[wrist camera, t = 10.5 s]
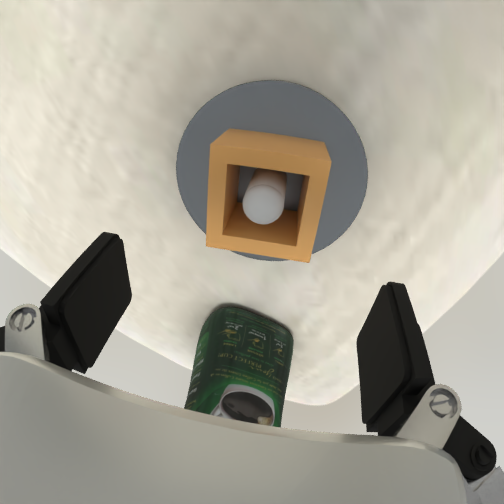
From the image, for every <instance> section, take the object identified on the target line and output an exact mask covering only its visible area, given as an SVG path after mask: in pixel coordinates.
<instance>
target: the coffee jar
mask: <svg viewBox="0 0 504 504" xmlns="http://www.w3.org/2000/svg"><path fill="white" fill-rule="evenodd" d="M292 354H293V338H292V336H291V334H290V333H289V332H288V331H287V330H286V329H284V328H283V327H281V326H279V325H278V324H276V323H274V322H272V321H270V320H268V319H266V318H263V317H261V316H259V315H256V314H254V313H251V312H249V311H246V310H243V309H239V308H235V307H226V308H221V309H218V310H216V311H215V312H213V313H212V314H211V315H210V316H209V318H208V319H207V321H206V322H205V324H204V325H203V327H202V330H201V333H200V337H199V340H198V344H197V349H196V354H195V359H194V365H193V371H192V376H191V382H190V387H189V391H188V396H187V400H186V404H185V407H184V409H187V410H191V411H195V412H200V413H204V414H208V415H213V416H217V417H222V418H227V419H232V420H237V421H243V422H248V423H254V424H260V425H267V426H273V427H280V428H281V419H282V411H283V405H284V399H285V393H286V387H287V382H288V377H289V372H290V366H291V360H292Z"/></svg>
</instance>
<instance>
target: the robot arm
mask: <svg viewBox="0 0 504 504" xmlns="http://www.w3.org/2000/svg"><path fill="white" fill-rule="evenodd" d="M131 298H132V292H131V287H130V281H129V276H128V270H127V264H126V258H125V251H124V244H123V240H122V239H120V237H119V235H117V234H113V233H108V232H103V233H102V234H101V235H100V236H99V237H98V238H97V239H96V240H95V241H94V242H93V243H92V244H91V245H90V246H89V247H88V248H87V249H86V250H85V251H84V252H83V253H82V255H81V256H80V257H79V258H78V259H77V260H76V261H75V262H74V263H73V264H72V266H71V267H70V268H69V269H68V270H67V271H66V272H65V273H64V275H63V276H62V277H61V278H60V279H59V280H58V281H57V283H56V284H55V285H54V286H53V287H52V288H51V290H50V291H49V292H48V293H47V294H46V296H45V297H44V298H43V299H42V301H41V306H40V308H39V309H38V307H37V306H35V305H32V304H23V305H20V306H18V307H16V308H15V309H13V310H12V311H11V312H10V313H9V315H8V317H7V318H6V323H5V326H3V327H0V504H504V472H503V471H502V469H501V468H500V466H499V467H497V468H496V467H495V464H496V451H495V448H494V446H493V444H491V442H490V441H489V440H488V439H487V438H485V437H484V436H483V435H482V434H481V433H480V432H478V431H477V430H476V429H475V428H474V427H473V426H471V425H470V424H469V423H468V422H467V421H466V420H465V419H463V418H462V417H461V416H460V413H461V401H460V399H459V397H458V395H457V393H456V392H455V391H454V390H453V389H452V388H450V387H448V386H446V385H442V384H436V385H435V381H434V377H433V373H432V369H431V365H430V361H429V357H428V354H427V350H426V346H425V343H424V339H423V336H422V332H421V329H420V326H419V324H418V323H417V321H416V317H415V314H414V311H413V308H412V305H411V302H410V299H409V296H408V293H407V290H406V287H405V285H404V284H401V283H395V282H388V283H387V285H383V286H382V287H381V289H380V291H379V293H378V295H377V298H376V300H375V302H374V304H373V306H372V308H371V310H370V313H369V315H368V317H367V319H366V321H365V323H364V325H363V327H362V329H361V331H360V333H359V335H358V338H357V354H358V365H359V378H360V391H361V408H362V422H363V423H364V424H366V427H367V432H378V436H374V435H354V434H339V433H326V432H315V431H305V430H296V429H288V428H280V427H273V426H267V425H260V424H254V423H248V422H243V421H237V420H232V419H227V418H222V417H217V416H213V415H208V414H204V413H200V412H195V411H191V410H187V409H183V408H180V407H176V406H172V405H168V404H165V403H161V402H158V401H154V400H151V399H148V398H144V397H141V396H138V395H135V394H132V393H129V392H126V391H123V390H120V389H117V388H114V387H111V386H108V385H106V384H103V383H100V382H97V381H95V380H92V379H90V378H87V377H84V376H82V375H79V374H77V373H74V372H72V369H74V370H76V371H79V372H81V373H83V374H85V373H86V371H87V369H88V367H89V368H91V367H92V366H93V365H94V363H95V361H96V359H97V358H98V356H99V354H100V352H101V350H102V349H103V347H104V345H105V343H106V342H107V340H108V338H109V337H110V335H111V333H112V332H113V330H114V328H115V327H116V325H117V323H118V322H119V320H120V318H121V317H122V315H123V313H124V312H125V310H126V308H127V307H128V305H129V304H130V302H131Z"/></svg>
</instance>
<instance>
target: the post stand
mask: <svg viewBox="0 0 504 504" xmlns="http://www.w3.org/2000/svg"><path fill="white" fill-rule="evenodd" d="M229 128H230V129H240V130H249V131H257V132H265V133H272V134H279V135H286V136H292V137H298V138H304V139H310V140H316V141H321V142H324V143H325V145H326V148H327V151H328V153H329V156H330V159H331V167H330V172H329V177H328V182H327V187H326V192H325V196H324V201H323V206H322V210H321V215H320V219H319V224H318V228H317V232H316V237H315V241H314V245H313V249H312V253H311V254H313V253H316V252H318V251H320V250H322V249H324V248H325V247H327V246H328V245H330V244H331V243H333V242H334V241H335V240H337V239H338V238H339V237H340V236H341V235H342V234H343V233H344V232H345V231H346V230H347V229H348V228H349V226H350V225H351V224H352V222H353V221H354V219H355V218H356V216H357V214H358V212H359V210H360V208H361V206H362V203H363V200H364V197H365V193H366V188H367V178H368V169H367V159H366V155H365V151H364V147H363V145H362V142H361V140H360V137H359V135H358V133H357V131H356V130H355V128H354V126H353V125H352V123H351V122H350V121H349V119H348V118H347V117H346V116H345V114H344V113H343V112H342V111H341V110H340V109H339V108H338V107H337V106H336V105H335V104H333V103H332V102H331V101H329V100H328V99H327V98H325V97H324V96H322V95H321V94H319V93H317V92H315V91H313V90H311V89H309V88H307V87H304V86H301V85H298V84H295V83H290V82H285V81H274V80H267V81H255V82H250V83H246V84H241V85H238V86H236V87H233V88H230V89H228V90H226V91H224V92H222V93H220V94H219V95H217V96H215V97H214V98H213V99H211V100H210V101H209V102H207V103H206V104H205V105H204V106H203V107H202V108H201V109H200V110H199V111H198V112H197V113H196V114H195V116H194V117H193V118H192V120H191V121H190V123H189V124H188V126H187V128H186V130H185V131H184V134H183V136H182V139H181V141H180V144H179V149H178V153H177V162H176V175H177V182H178V188H179V191H180V195H181V198H182V200H183V203H184V205H185V207H186V209H187V211H188V212H189V214H190V216H191V217H192V219H193V220H194V221H195V223H196V224H197V225H198V226H199V228H200V229H201V230H202V231H203V232H204V233H205V234H206V227H207V199H208V177H209V158H210V144H211V143H212V142H214V141H215V140H216V139H217V138H218V137H220V136H221V135H222V134H223V133H224V132H226V131H227V130H228V129H229ZM303 176H304V175H302V174H296V173H290V172H283V171H277V170H270V169H263V168H256V167H249V166H241V165H240V174H239V185H238V196H237V202H240V203H243V210H244V212H245V214H246V216H247V217H248V218H249V219H250V220H251V221H253V222H255V223H257V224H269V223H272V222H274V221H275V220H277V219H278V218H279V217H280V215H281V214H282V212H283V209H285V210H292V211H297V210H298V204H299V199H300V193H301V187H302V182H303ZM230 251H232V250H230ZM232 252H235V253H237V254H240V255H243V256H245V257H249V258H253V259H258V260H266V261H284V260H288V259H282V258H276V257H269V256H263V255H257V254H251V253H245V252H238V251H232Z"/></svg>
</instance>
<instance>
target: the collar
mask: <svg viewBox="0 0 504 504" xmlns="http://www.w3.org/2000/svg"><path fill="white" fill-rule="evenodd" d="M240 165H241V166H249V167H256V168H263V169H270V170H277V171H283V172H290V173H296V174H302V175H304V176H303V182H302V187H301V193H300V199H299V204H298V210H297V211H292V210H285V209H283V212H282V214H281V215H280V217H279V218H278V219H277V220H275V221H274V222H272V223H269V224H257V223H255V222H253V221H251V220H250V219H249V218H248V217H247V216H246V214H245V212H244V210H243V203H240V202H237V196H238V185H239V174H240ZM330 167H331V159H330V156H329V153H328V151H327V148H326V145H325V143H324V142H321V141H316V140H310V139H304V138H298V137H292V136H286V135H279V134H272V133H265V132H257V131H249V130H240V129H230V128H229V129H228V130H227V131H226V132H224V133H223V134H222V135H221V136H220V137H218V138H217V139H216V140H215V141H214V142H212V143H211V144H210V158H209V177H208V199H207V227H206V246H207V247H214V248H220V249H226V250H232V251H238V252H245V253H251V254H257V255H263V256H269V257H276V258H282V259H288V260H294V261H301V262H307V263H309V262H310V258H311V253H312V249H313V245H314V241H315V237H316V232H317V228H318V224H319V219H320V215H321V210H322V206H323V201H324V196H325V192H326V187H327V182H328V177H329V172H330Z"/></svg>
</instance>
